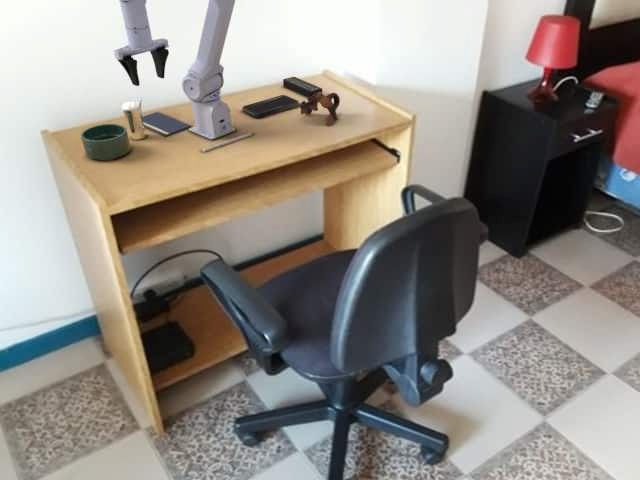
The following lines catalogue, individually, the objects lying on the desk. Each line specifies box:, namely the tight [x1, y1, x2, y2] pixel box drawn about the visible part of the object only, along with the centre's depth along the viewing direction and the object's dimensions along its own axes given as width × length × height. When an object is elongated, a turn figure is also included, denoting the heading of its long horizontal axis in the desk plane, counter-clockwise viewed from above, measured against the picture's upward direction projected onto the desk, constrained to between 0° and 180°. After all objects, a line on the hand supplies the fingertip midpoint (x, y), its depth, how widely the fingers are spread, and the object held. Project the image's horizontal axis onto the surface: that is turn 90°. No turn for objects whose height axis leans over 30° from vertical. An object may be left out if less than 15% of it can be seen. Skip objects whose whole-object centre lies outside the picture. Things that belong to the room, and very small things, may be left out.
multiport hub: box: [282, 76, 323, 99], centre depth 175 cm, size 4×14×2 cm, turn 42°
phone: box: [242, 94, 300, 119], centre depth 164 cm, size 8×1×15 cm
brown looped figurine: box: [298, 91, 341, 126], centre depth 158 cm, size 12×10×8 cm
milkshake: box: [121, 99, 146, 141], centre depth 145 cm, size 4×5×10 cm
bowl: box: [80, 123, 132, 161], centre depth 139 cm, size 10×10×5 cm
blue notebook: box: [142, 111, 192, 137], centre depth 155 cm, size 15×8×1 cm, turn 51°
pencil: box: [202, 132, 253, 153], centre depth 146 cm, size 1×1×15 cm
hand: (148, 81), depth 151 cm, fingers open, 7 cm apart
